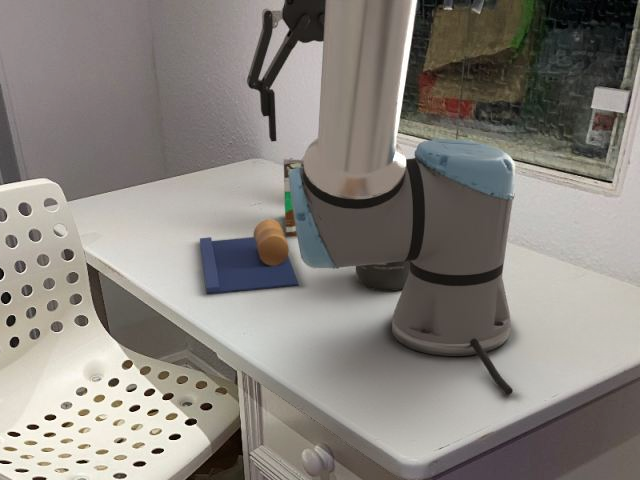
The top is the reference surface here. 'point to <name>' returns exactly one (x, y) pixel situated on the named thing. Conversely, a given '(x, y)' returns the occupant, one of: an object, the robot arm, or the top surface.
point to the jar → (384, 275)
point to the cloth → (241, 267)
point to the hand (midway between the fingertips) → (313, 135)
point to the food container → (289, 196)
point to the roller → (271, 242)
